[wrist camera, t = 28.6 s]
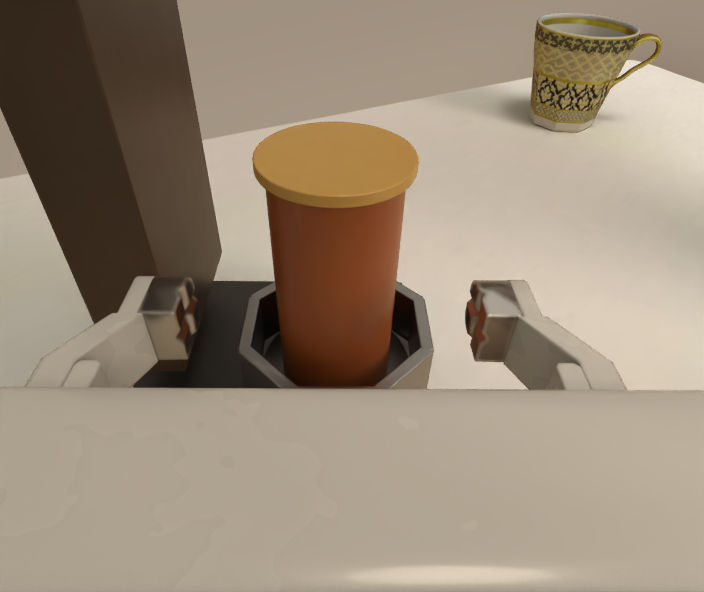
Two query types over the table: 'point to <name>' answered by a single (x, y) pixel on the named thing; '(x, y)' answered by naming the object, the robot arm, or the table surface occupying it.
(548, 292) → the table surface
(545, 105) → the ceramic cup
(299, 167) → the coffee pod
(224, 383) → the base
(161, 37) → the coffee maker
